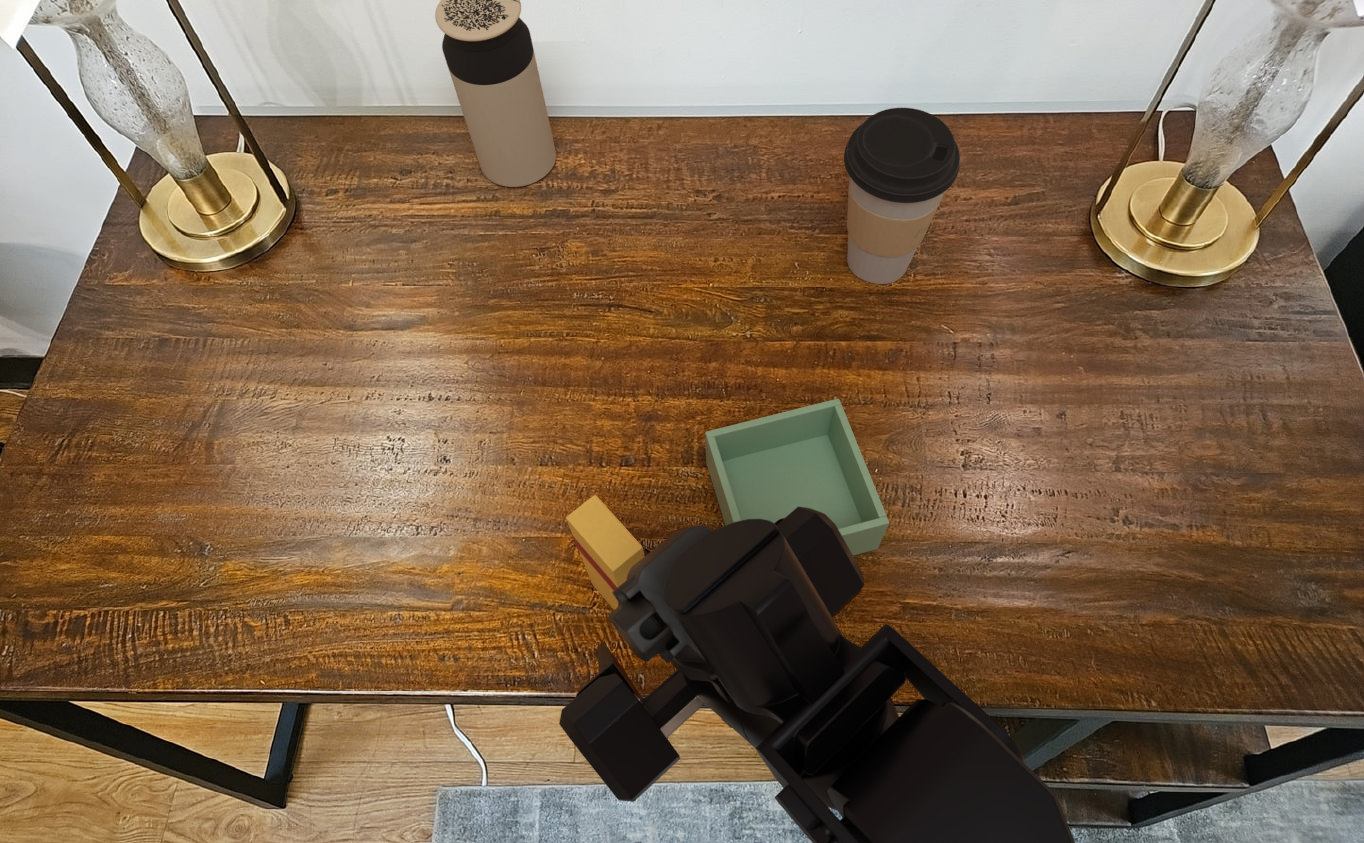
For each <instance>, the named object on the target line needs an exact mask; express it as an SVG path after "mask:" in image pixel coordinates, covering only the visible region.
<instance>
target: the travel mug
mask: <svg viewBox="0 0 1364 843" xmlns="http://www.w3.org/2000/svg"><path fill="white" fill-rule="evenodd" d="M521 12H522V2H521V0H439V2H438V4H437V5H436V8H435V14H434V16H435V17H434V18H435V23H436V25H437V26H438V28H439V30H440V31H441V32H442V33H444V35H443V39H442V43H441V48H442V49H441V50H442V53H443V56H444V59H445V63H446V65H447V68H448V72H449V75H450V78H451V81H452V84H453V87H454V90H455V93H456V96H457V99H458V102H459V105H460V109H461V112H462V115H463V119H464V120H465V124H466V127H467V130H468V133H469V136H470V139H471V142H472V145H473V148H474V153H475V156H476V158H477V161H478V164H479V167H480V170H481V173H482V174H483V176H484V177H486V178H487V179H488V180H489V181H490V182H491V183H494V184H495V185H498V186H503V187H508V188H509V187H510V188H518V187H525V186H529V185H531V184H534V183H536V182H538V181H540V180H542V179H543V178H544V177H545V176H547V175H548V174H549V173H550V172H551V171H552V169H553V167H554V166H555V163H556V159H557V152H556V146H555V142H554V136H553V133H552V132H553V131H552V128H551V122H550V119H549V113H548V110H547V105H546V100H545V95H544V91H543V86H542V82H541V78H540V73H539V70H538V69H539V67H538V63H537V59H536V54H535V50H534V44H533V40H532V35H531V31H530V29H529V27H528V25H527V24H526V23H525V22H524V21H523V19H522V18H520V16H521Z"/></svg>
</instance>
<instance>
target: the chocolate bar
mask: <svg viewBox="0 0 1364 843" xmlns="http://www.w3.org/2000/svg"><path fill="white" fill-rule="evenodd" d="M565 520H566V521H567V524H568V527H569V529H570V533H571V534H572V535H571V537H572V539H573V542H574V544H575V547H576V549H577V550H578V552H579V554H580V555H579V556H580V557H581V560H582V563H583V565H584V568H585V570H586V572H587V574H588V577H589V580H590V583H591V585H592V586H593V587H594V589H595V590H596V591H597V592H598V593H599V594H600V595H601V597H602V598H603V599H604V600H605V601H606V602H607V604H608V605H609V607H610V608H612V610H613V611H614V610H615V609H616V608H617V607H618V601H617V599H616V598H615V597H614V595H613V593H612V592H613V591H614V590H615V589H617V588H618V587H619V586H620V585H621V584H623V583H624V582H625V581H626V580H627V575H628V572H629V570H630V569H631V568H632V567H633V565H635V564H636V563H637V562H638V561H640V560H641V559H642V558H644V557H645V556H646V555H645V551H644V547H643V546H642V545H641V543H640V542H639V541H638V540H637V539H636V538H635V536H634V535H633V534H632V533H631V532H630V531H629V530H628V529H627V528H626V527H625V525H623V523H622V522H621V521H620V520H619V518H618V517H616V515H615V514H614V513H613V512H612V511H611V510H610V509H609V508H608V507H607V505H606V504H605V503H604V502H603V501H602V500H601V498H599V497H598V495H597V494H593V495H592V496H591V497H590V498H588V499H587V500H586V501H584V502H583V503H581V505H579V507H577V508H576V509H575V510H573V511H572V512H571V513H569V514H568V515H566V516H565Z"/></svg>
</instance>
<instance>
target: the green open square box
mask: <svg viewBox="0 0 1364 843" xmlns="http://www.w3.org/2000/svg"><path fill="white" fill-rule="evenodd" d="M704 435H705V436H704V437H705V438H704V439H705V440H704V441H705V464H706V466H707V470H708V473H709V477H710V480H711V483H712V487H713V490H714V494H715V496H716V500H717V503H718V506H719V509H720V512H721V515H722V520H723V523H724V526H726V525H728V524H731V523H734V522H737V521H742V520H746V519H764V520H769V521H771V522H773V523H775V522H776V521H777V520H779V519H782V518H785V517H787V516H788V515H789V514H790V513H791V512H792V511H794V510H795V509H796V508H797V507H798V506H799V507H807V508H811V509H814V510H816V511H819V512H821V513H824V514H826V515H827V516H828V517H829V518H830V519H831V520H832V521H833V522H834V523H835V525H836V526H837V528H838V530H839V532H840V533H841V535H842V537H843V539H844V541H845V542H846V544H847V546H848V548H849V549H850V551H851V553H852V555H853V556H857V555H860V554H864V553H869V552H872V551H875V550H878V549H879V547H880V545H881V543H882V540H883V538H884V536H885V534H886V531H887V529H888V527H889V525H890V521H889V518H888V516H887V512H886V511H885V508H884V506H883V503H882V501H881V499H880V496H879V493H878V490H877V488H876V486H875V484H874V481H873V478H872V476H871V473H870V471H869V469H868V466H867V464H866V460H865V459H864V456H863V454H862V451H861V449H860V447H859V444H858V442H857V439H856V437H855V434H854V432H853V429H852V427H851V424H850V422H849V419H848V417H847V414H846V412H845V410H844V407H843V405H842V402H841V400H840V398H834V399H830V400H826V401H822V402H818V403H815V404H809V405H807V406H803V407H799V408H794V409H789V410H786V411H782V412H779V413H774V414H771V415H770V414H769V415H767V416H762V417H759V418H755V419H751V420H745V421H742V422H739V423H734V424H731V425H727V426H723V427H718V428H715V429H711V430H707V431H705V432H704Z"/></svg>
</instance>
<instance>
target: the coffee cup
mask: <svg viewBox="0 0 1364 843" xmlns="http://www.w3.org/2000/svg"><path fill="white" fill-rule="evenodd" d="M960 161H961V153H960V148H959V146H958V144H957V142H956V140H955V138H954V134H953V133H952V131H951V130H950V128H949V127H948V125H947V124H946V123H945V122H944V121H942V120H941V119H940V118H938V117H937V116H935V115H934V114H931V113H930V112H927V111H924V110H922V109H917V108H914V107H913V108H911V107H891V108H886V109H884V110H881V111H880V110H879V111H878V112H875V113H873V114H872V115H871V116H869V117H868V118H867V119H865V121H864V122H863V123H861V124H860V125H858V127H857V128H855V129H854V131H853V132H852V133H851V135H850V137H849V138H848V141H847V143H846V146H845V148H844V152H843V163H844V168H845V170H846V172H847V175H848V176H849V178H848V195H847V217H846V229H847V230H846V231H847V254H846V256H847V257H846V261H847V266H848V268H849V270H850V272H851V273H852V274H853V275H854V276H856V277H857V278H858V279H861V280H862V281H865V282H867V283H871V284H876V285H889V284H892V283H895V282H897V281H899V280H900V279H901V278H902V277H903V276H904V275H905V274H906V272H907V270H908V268H909V266H910V264H911V262H912V260H913V257H914V255H915V254H916V251H917V249H918V248H919V246H920V245H921V244H922V242H923V240H924V238H925V236H926V233H927V231H928V230H929V227H930V225H931V223H932V221H933V219H934V217H935V214H936V213H937V210H938V208H939V206H940V204H941V202H942V200H943V197H944V193H945V192H946V191H947V190H948V189H950V188H951V187H952V185H953V184H954V183H955V181H956V179H957V177H958V175H959V172H960V164H961V162H960Z"/></svg>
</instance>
